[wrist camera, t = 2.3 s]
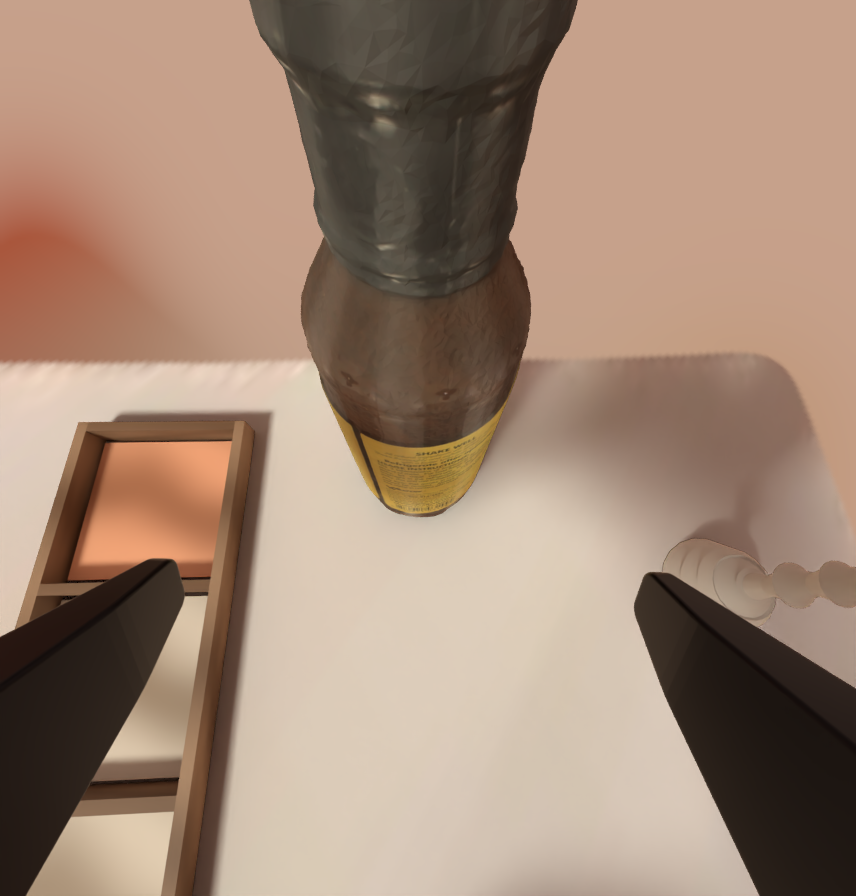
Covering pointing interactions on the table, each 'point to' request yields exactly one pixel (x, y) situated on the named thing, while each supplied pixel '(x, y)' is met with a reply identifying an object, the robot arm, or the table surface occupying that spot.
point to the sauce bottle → (415, 221)
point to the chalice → (756, 580)
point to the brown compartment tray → (184, 654)
